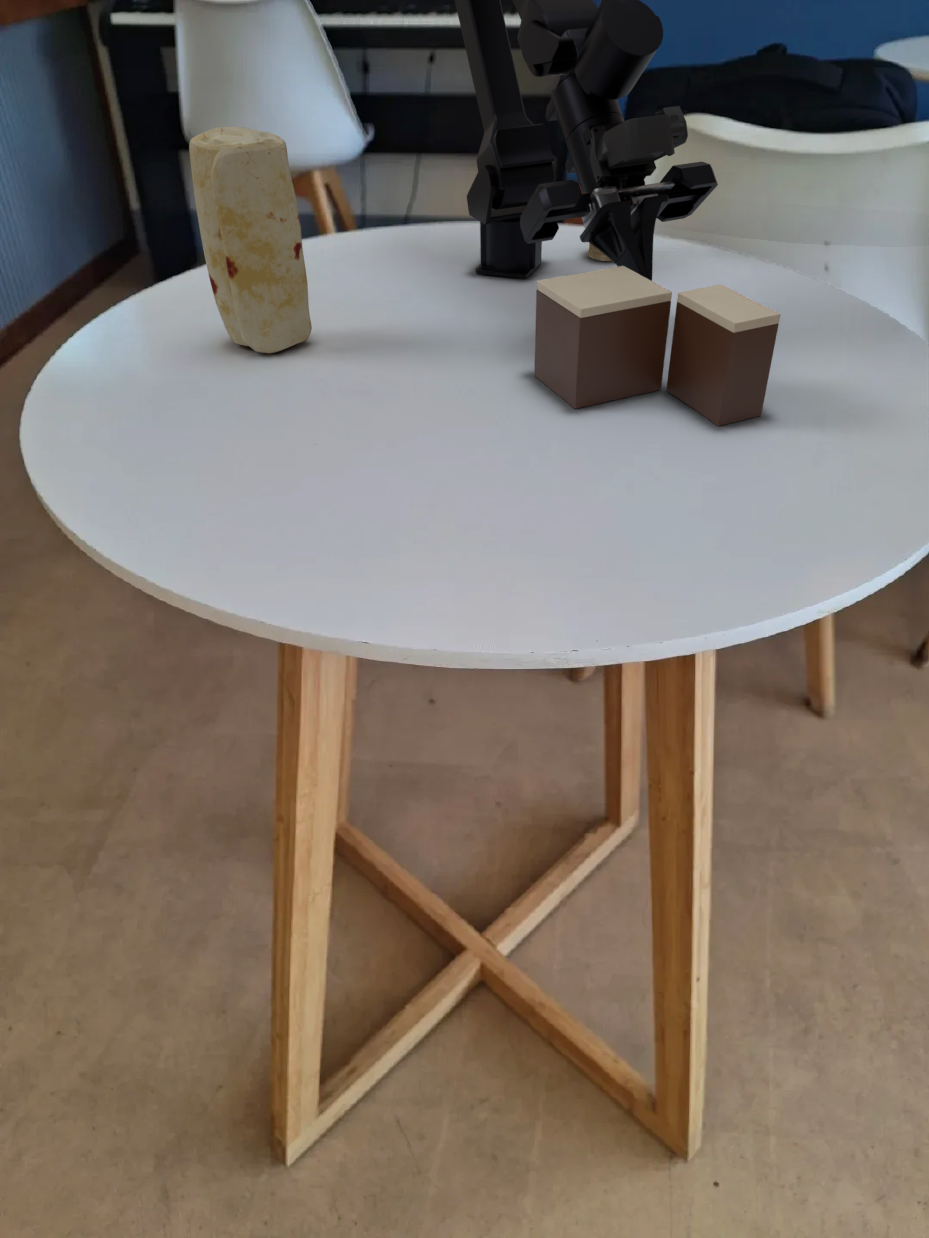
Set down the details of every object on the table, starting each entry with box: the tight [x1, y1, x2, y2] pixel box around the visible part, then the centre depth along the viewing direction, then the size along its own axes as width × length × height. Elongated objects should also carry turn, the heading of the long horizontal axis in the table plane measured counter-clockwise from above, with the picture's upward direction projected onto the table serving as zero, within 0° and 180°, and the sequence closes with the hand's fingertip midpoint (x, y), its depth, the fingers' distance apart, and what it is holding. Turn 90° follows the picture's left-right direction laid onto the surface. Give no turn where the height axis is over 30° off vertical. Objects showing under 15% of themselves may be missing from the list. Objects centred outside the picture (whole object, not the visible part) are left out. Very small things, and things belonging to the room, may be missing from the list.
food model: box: [188, 126, 313, 355], centre depth 90 cm, size 10×7×20 cm
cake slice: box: [665, 284, 781, 427], centre depth 80 cm, size 8×4×9 cm, turn 24°
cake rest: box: [533, 266, 673, 410], centre depth 84 cm, size 8×9×9 cm
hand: (646, 285), depth 88 cm, fingers closed
